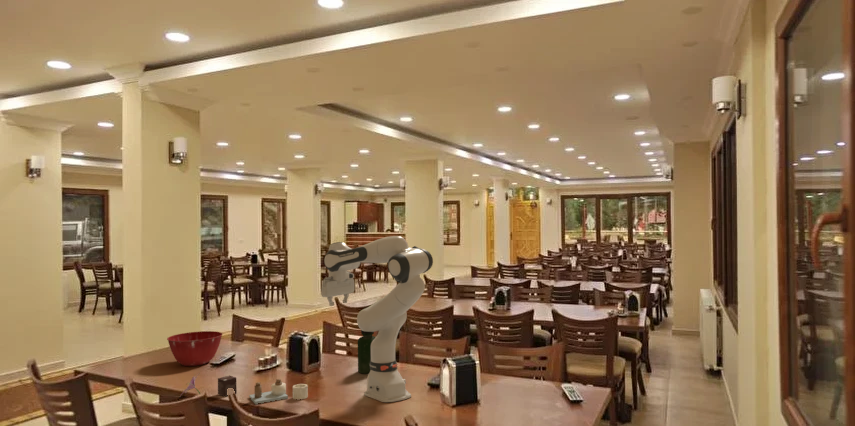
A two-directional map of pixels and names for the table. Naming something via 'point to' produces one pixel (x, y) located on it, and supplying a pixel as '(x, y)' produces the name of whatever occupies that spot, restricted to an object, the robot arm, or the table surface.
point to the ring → (300, 391)
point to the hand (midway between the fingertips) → (338, 304)
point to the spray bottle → (364, 352)
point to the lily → (191, 385)
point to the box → (226, 384)
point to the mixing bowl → (195, 347)
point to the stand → (269, 393)
